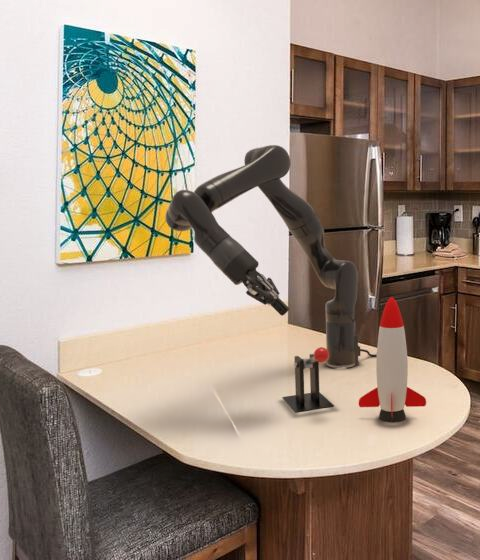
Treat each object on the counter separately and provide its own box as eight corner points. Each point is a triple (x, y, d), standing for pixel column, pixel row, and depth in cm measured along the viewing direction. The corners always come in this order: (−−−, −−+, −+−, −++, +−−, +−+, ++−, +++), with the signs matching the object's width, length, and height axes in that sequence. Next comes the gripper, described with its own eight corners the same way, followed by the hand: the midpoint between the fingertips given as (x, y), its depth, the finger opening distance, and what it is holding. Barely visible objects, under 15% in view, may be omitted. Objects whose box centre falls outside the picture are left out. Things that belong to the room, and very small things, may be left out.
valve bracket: (334, 410, 155) (333, 360, 153) (295, 416, 151) (294, 365, 149) (318, 395, 166) (317, 349, 164) (282, 401, 161) (280, 353, 160)
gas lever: (332, 360, 144) (329, 345, 145) (317, 362, 142) (315, 346, 143) (313, 371, 158) (310, 357, 159) (299, 372, 157) (297, 358, 157)
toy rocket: (359, 425, 146) (357, 298, 148) (392, 419, 154) (390, 299, 156) (393, 430, 138) (392, 296, 140) (426, 424, 146) (424, 297, 148)
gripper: (233, 252, 137) (288, 307, 137) (253, 246, 150) (304, 296, 150) (212, 275, 139) (266, 329, 139) (233, 268, 152) (283, 317, 152)
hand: (286, 312), depth 145 cm, fingers closed
